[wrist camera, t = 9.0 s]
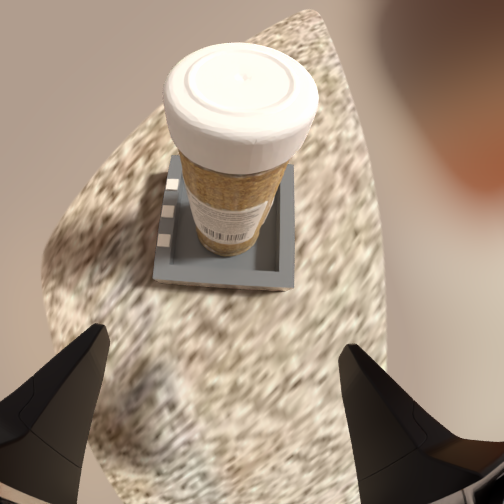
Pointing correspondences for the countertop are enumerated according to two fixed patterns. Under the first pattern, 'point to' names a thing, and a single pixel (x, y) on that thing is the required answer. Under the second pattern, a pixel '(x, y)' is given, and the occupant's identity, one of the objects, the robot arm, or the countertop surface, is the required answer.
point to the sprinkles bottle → (236, 135)
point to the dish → (220, 267)
